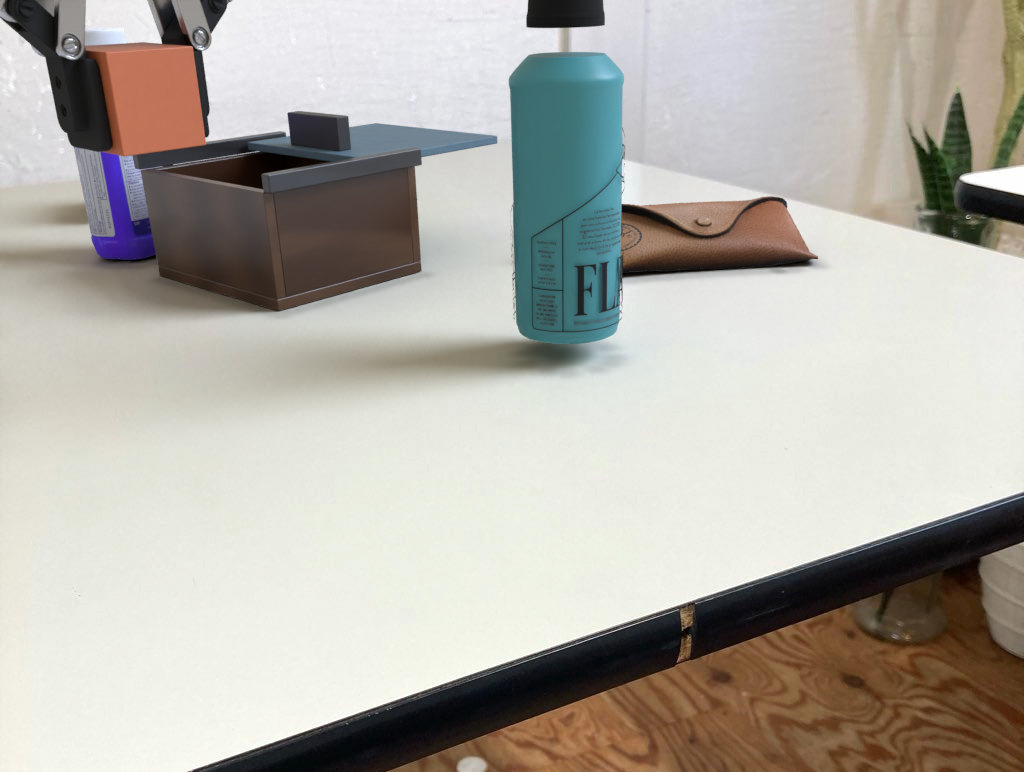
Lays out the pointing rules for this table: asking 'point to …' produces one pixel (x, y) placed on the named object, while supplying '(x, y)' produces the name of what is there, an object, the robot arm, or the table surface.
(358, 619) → the table surface
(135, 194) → the bottle
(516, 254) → the beverage bottle
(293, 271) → the box
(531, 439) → the table surface
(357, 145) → the lid
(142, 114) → the block
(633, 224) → the sunglasses case
